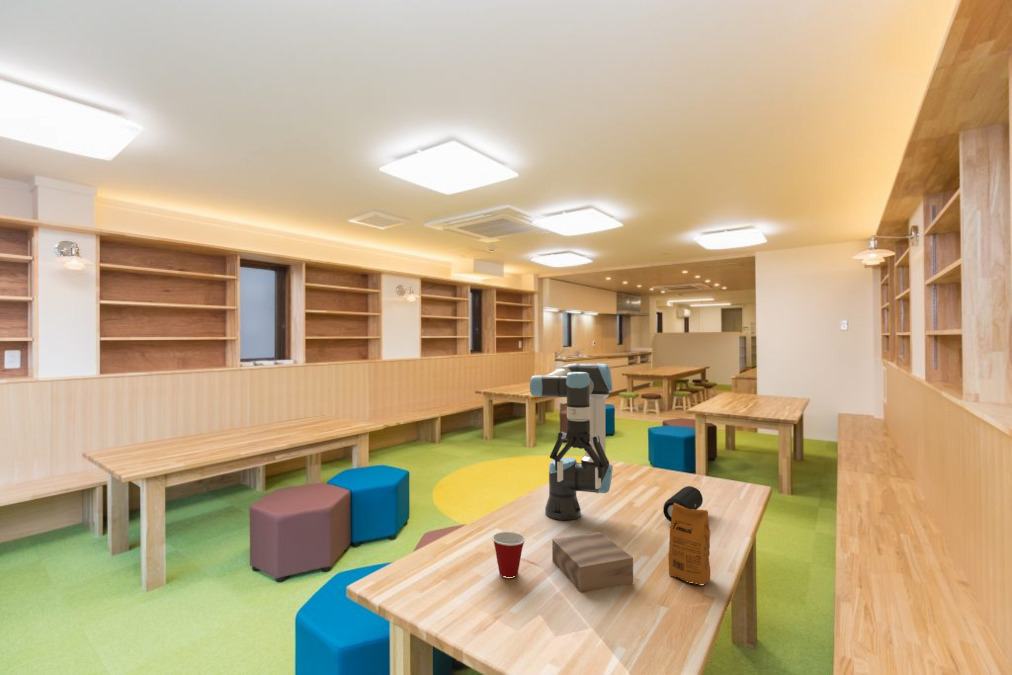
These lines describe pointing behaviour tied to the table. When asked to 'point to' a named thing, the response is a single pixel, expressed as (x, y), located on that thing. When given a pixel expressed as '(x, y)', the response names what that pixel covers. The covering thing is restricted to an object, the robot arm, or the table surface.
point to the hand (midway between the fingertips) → (578, 484)
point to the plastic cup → (508, 552)
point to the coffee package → (689, 545)
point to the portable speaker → (683, 500)
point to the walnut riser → (592, 561)
